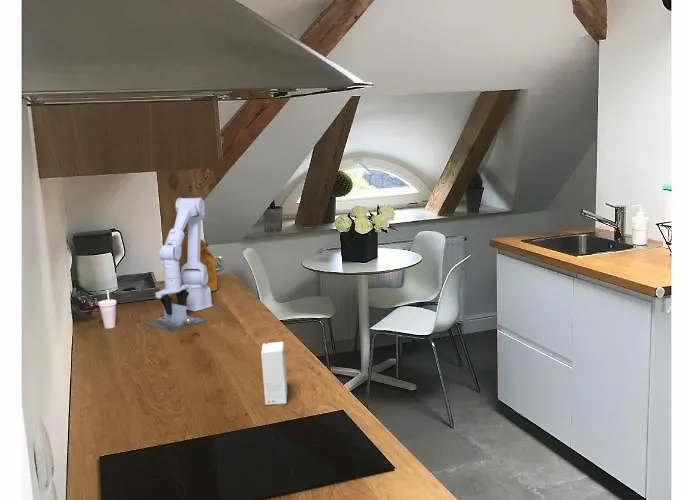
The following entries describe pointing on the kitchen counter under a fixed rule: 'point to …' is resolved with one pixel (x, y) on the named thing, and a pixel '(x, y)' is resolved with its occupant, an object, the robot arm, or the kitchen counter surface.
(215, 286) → the coffee package
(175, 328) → the pocket plate
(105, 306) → the smoothie
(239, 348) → the kitchen counter surface
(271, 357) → the skincare box
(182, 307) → the light blue block
